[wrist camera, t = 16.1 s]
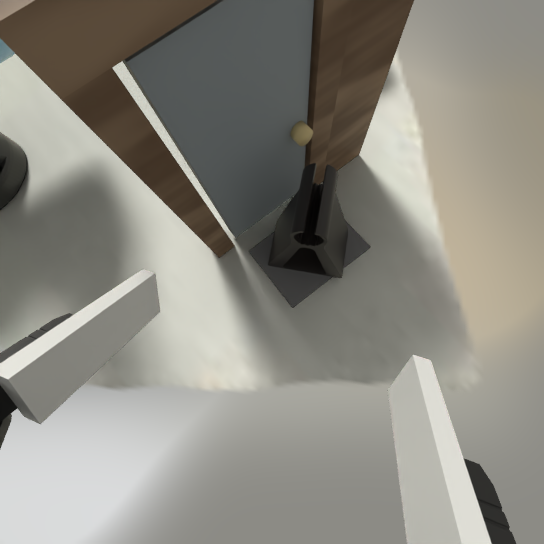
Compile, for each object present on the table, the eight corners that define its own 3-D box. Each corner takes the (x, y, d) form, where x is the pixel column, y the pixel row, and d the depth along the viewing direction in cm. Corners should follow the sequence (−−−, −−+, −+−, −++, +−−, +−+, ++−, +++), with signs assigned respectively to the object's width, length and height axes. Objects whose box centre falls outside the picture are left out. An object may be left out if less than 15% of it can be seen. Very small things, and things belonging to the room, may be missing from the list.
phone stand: (348, 232, 30) (380, 170, 19) (341, 278, 29) (371, 242, 17) (277, 221, 32) (267, 156, 20) (267, 265, 30) (250, 223, 19)
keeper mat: (249, 251, 31) (248, 251, 31) (322, 197, 32) (322, 196, 32) (292, 307, 29) (292, 307, 29) (369, 247, 30) (370, 246, 30)
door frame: (209, 244, 32) (-32, -8, 8) (347, 143, 34) (467, -297, 10) (219, 257, 31) (-11, 27, 8) (359, 154, 33) (515, -286, 10)
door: (240, 244, 31) (139, 77, 11) (229, 229, 31) (113, 45, 11) (309, 194, 32) (333, -49, 12) (296, 180, 32) (299, -71, 12)
